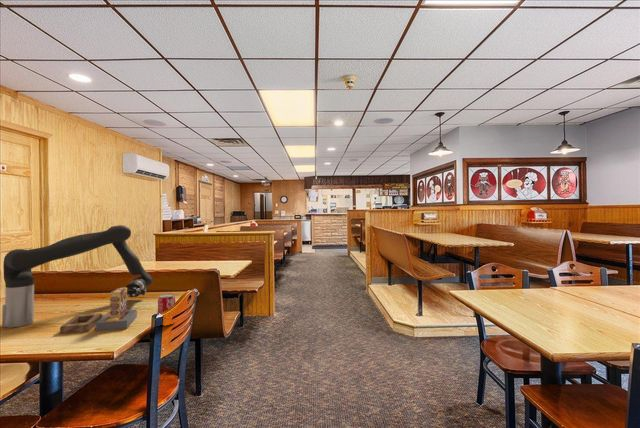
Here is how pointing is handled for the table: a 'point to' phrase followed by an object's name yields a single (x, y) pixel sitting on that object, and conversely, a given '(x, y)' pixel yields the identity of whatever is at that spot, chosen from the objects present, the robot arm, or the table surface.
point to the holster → (75, 327)
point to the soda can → (165, 302)
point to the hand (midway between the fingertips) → (125, 295)
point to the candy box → (118, 303)
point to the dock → (116, 321)
